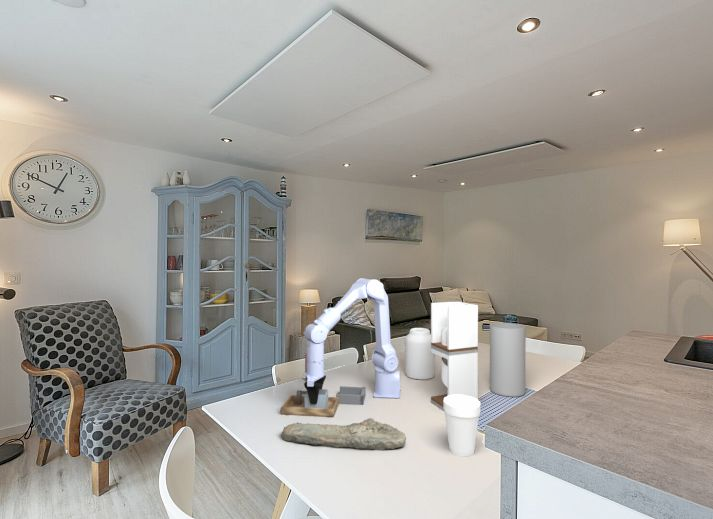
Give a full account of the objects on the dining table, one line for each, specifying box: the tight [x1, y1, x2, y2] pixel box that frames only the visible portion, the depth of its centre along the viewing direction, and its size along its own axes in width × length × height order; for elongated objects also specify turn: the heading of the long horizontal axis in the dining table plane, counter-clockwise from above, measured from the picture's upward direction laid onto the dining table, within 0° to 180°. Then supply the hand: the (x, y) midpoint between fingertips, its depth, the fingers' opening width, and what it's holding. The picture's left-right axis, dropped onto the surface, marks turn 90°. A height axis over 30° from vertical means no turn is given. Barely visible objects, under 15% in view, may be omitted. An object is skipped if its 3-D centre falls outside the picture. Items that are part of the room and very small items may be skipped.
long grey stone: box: [281, 417, 407, 451], centre depth 102 cm, size 35×5×10 cm
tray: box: [280, 394, 340, 418], centre depth 123 cm, size 17×10×2 cm, turn 83°
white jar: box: [404, 327, 436, 381], centre depth 157 cm, size 12×12×20 cm
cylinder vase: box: [489, 322, 527, 398], centre depth 139 cm, size 12×12×25 cm
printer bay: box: [335, 385, 367, 406], centre depth 131 cm, size 10×8×3 cm
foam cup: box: [443, 395, 481, 457], centre depth 97 cm, size 10×9×13 cm
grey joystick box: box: [296, 388, 329, 409], centre depth 123 cm, size 10×4×6 cm, turn 83°
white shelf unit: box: [430, 301, 479, 413], centre depth 125 cm, size 11×11×35 cm
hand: (315, 400), depth 123 cm, fingers closed on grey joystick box, 4 cm apart
